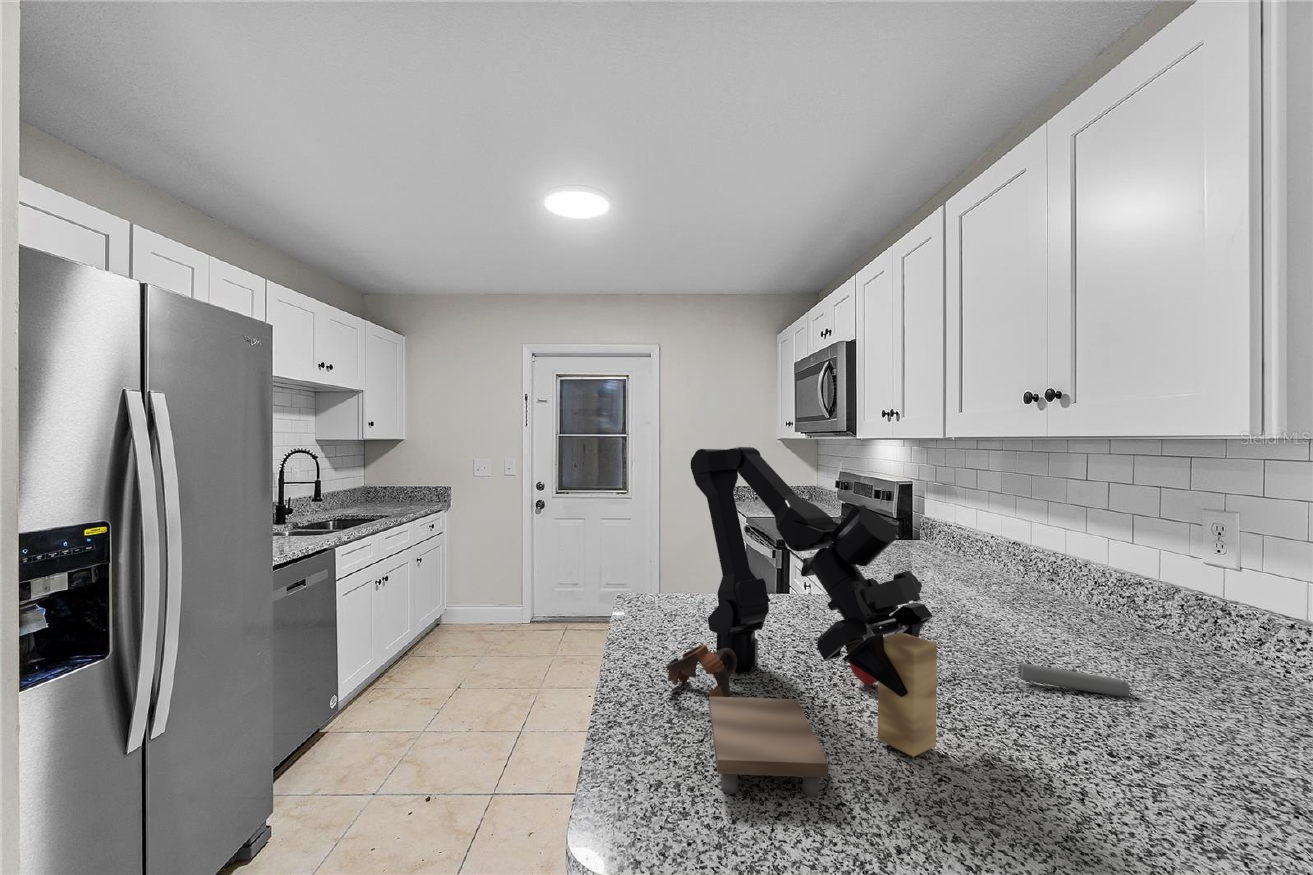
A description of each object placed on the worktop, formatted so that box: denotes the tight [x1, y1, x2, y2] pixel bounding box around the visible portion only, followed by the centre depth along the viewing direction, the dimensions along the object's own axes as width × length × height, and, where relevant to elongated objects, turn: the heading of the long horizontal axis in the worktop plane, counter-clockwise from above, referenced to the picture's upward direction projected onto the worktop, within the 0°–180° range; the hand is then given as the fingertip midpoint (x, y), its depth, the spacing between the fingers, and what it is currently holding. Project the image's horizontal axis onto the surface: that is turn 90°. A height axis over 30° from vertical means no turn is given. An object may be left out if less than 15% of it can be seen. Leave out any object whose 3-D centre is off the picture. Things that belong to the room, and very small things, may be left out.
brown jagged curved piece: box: [665, 644, 737, 697], centre depth 90 cm, size 12×10×8 cm
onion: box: [849, 663, 878, 687], centre depth 92 cm, size 6×6×8 cm
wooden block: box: [877, 632, 938, 758], centre depth 73 cm, size 5×5×13 cm
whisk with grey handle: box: [920, 636, 1144, 698], centre depth 94 cm, size 6×34×6 cm, turn 72°
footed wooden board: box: [708, 696, 829, 798], centre depth 70 cm, size 16×12×4 cm
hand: (917, 690), depth 72 cm, fingers closed on wooden block, 5 cm apart
